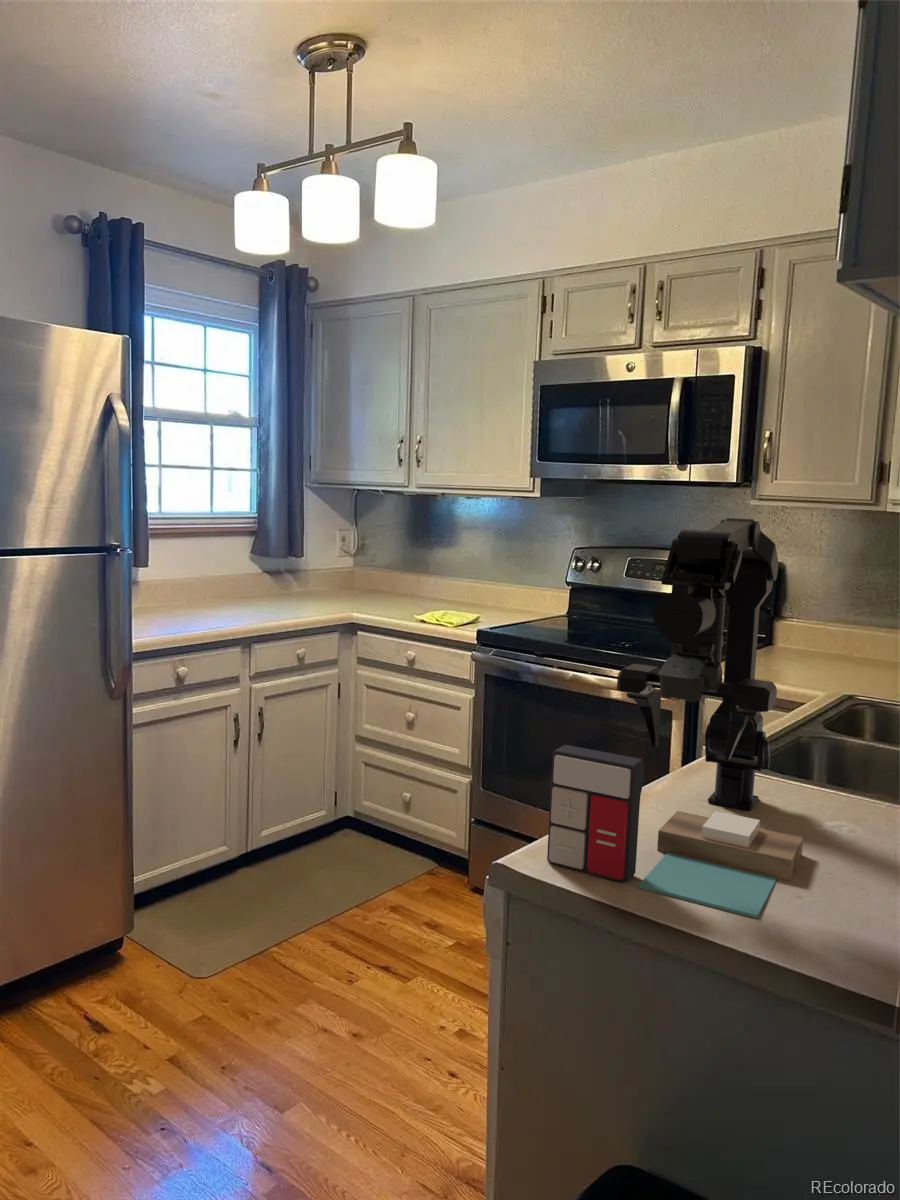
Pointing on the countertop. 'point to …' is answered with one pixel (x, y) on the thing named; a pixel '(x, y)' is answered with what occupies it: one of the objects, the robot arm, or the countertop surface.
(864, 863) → the countertop surface
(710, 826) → the tile
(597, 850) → the calculator
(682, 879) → the mat
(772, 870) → the wooden board
